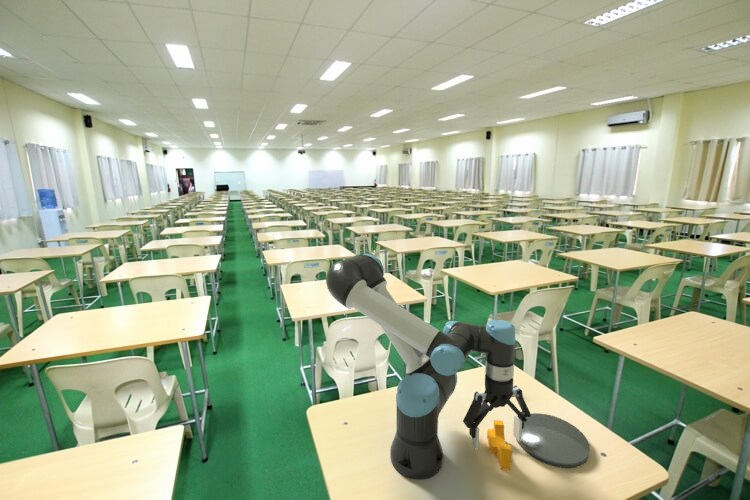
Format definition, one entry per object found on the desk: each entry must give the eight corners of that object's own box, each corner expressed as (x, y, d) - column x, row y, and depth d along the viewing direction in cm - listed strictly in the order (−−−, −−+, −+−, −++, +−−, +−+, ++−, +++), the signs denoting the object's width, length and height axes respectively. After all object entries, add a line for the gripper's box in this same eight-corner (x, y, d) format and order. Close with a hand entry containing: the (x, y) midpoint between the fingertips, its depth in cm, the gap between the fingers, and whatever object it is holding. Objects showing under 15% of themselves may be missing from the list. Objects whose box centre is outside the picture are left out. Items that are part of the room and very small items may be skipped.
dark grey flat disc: (544, 474, 93) (544, 466, 92) (502, 425, 112) (502, 418, 112) (605, 461, 97) (606, 453, 96) (555, 416, 116) (555, 409, 116)
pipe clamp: (487, 438, 107) (488, 419, 105) (501, 439, 106) (502, 420, 105) (494, 468, 95) (495, 448, 94) (510, 470, 94) (511, 450, 93)
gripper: (464, 388, 90) (462, 459, 94) (547, 376, 95) (542, 443, 99) (452, 374, 97) (451, 440, 101) (529, 363, 102) (526, 426, 106)
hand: (496, 442), depth 100 cm, fingers open, 13 cm apart
